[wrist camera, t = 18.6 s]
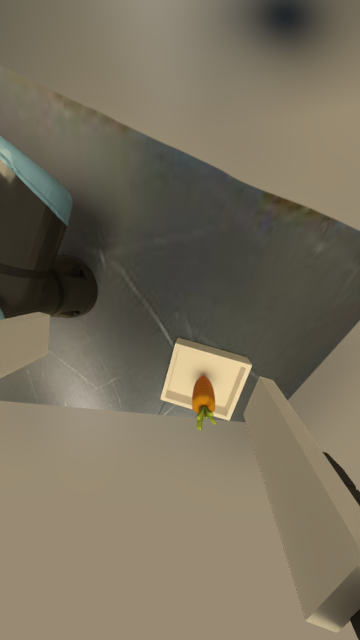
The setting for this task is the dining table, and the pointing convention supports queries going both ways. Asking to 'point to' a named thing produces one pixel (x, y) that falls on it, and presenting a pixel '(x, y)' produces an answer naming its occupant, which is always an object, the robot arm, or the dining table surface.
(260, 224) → the dining table surface
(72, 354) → the dining table surface
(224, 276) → the dining table surface
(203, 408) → the carrot
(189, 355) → the tray
